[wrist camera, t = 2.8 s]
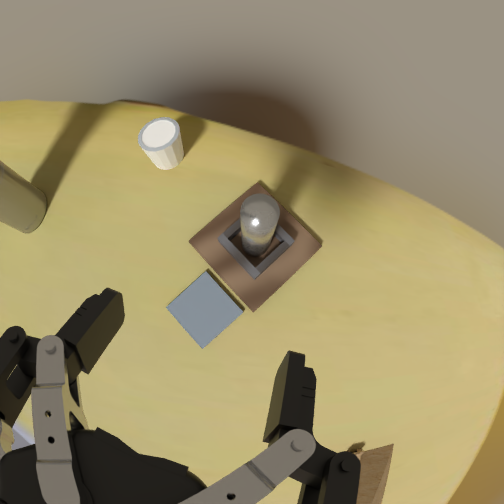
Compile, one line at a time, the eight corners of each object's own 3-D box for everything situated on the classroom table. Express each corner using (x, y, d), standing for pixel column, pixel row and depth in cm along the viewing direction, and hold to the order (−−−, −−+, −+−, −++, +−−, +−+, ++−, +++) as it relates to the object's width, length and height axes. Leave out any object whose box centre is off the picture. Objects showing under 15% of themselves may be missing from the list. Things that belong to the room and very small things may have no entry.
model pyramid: (394, 437, 36) (423, 458, 26) (380, 504, 32) (401, 529, 22) (303, 455, 35) (317, 486, 25) (298, 522, 31) (307, 554, 22)
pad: (167, 307, 40) (166, 307, 39) (206, 271, 41) (205, 271, 41) (203, 348, 39) (202, 348, 38) (243, 311, 40) (243, 311, 39)
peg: (236, 242, 41) (232, 210, 28) (256, 224, 42) (260, 186, 29) (255, 262, 40) (259, 238, 28) (275, 244, 41) (287, 212, 28)
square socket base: (189, 243, 42) (185, 236, 39) (257, 185, 44) (258, 175, 41) (253, 312, 40) (253, 312, 37) (320, 247, 42) (326, 242, 39)
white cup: (153, 142, 46) (141, 119, 39) (189, 138, 46) (181, 114, 39) (147, 174, 45) (134, 153, 38) (185, 171, 45) (176, 149, 38)
